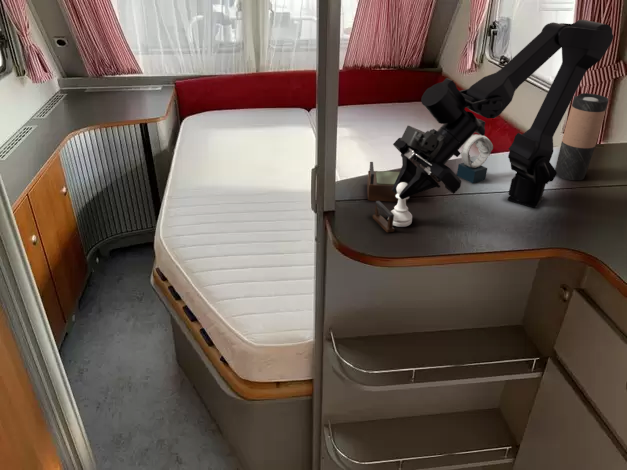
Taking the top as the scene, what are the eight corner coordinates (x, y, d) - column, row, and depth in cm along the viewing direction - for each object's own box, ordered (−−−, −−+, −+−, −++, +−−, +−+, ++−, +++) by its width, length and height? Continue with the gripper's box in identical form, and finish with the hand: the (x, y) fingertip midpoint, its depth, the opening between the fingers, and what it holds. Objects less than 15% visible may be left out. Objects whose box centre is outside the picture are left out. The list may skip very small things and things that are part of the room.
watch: (490, 178, 133) (499, 136, 127) (467, 184, 129) (475, 142, 124) (474, 170, 137) (481, 129, 131) (451, 176, 133) (458, 134, 128)
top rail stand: (404, 187, 127) (407, 162, 124) (407, 202, 120) (410, 176, 117) (367, 185, 128) (368, 160, 124) (367, 200, 121) (369, 174, 117)
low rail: (372, 217, 114) (374, 201, 112) (379, 216, 114) (380, 200, 112) (387, 232, 108) (388, 215, 106) (394, 231, 109) (396, 214, 107)
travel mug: (588, 182, 132) (613, 103, 122) (556, 179, 133) (578, 100, 123) (581, 170, 138) (604, 94, 128) (551, 167, 140) (571, 91, 129)
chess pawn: (415, 220, 113) (420, 182, 108) (404, 229, 109) (408, 190, 105) (395, 213, 115) (399, 175, 111) (383, 222, 112) (386, 183, 107)
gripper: (405, 99, 109) (354, 155, 111) (457, 127, 94) (396, 192, 96) (433, 131, 116) (384, 184, 118) (486, 163, 101) (428, 223, 103)
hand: (396, 194), depth 109 cm, fingers closed on chess pawn, 3 cm apart
